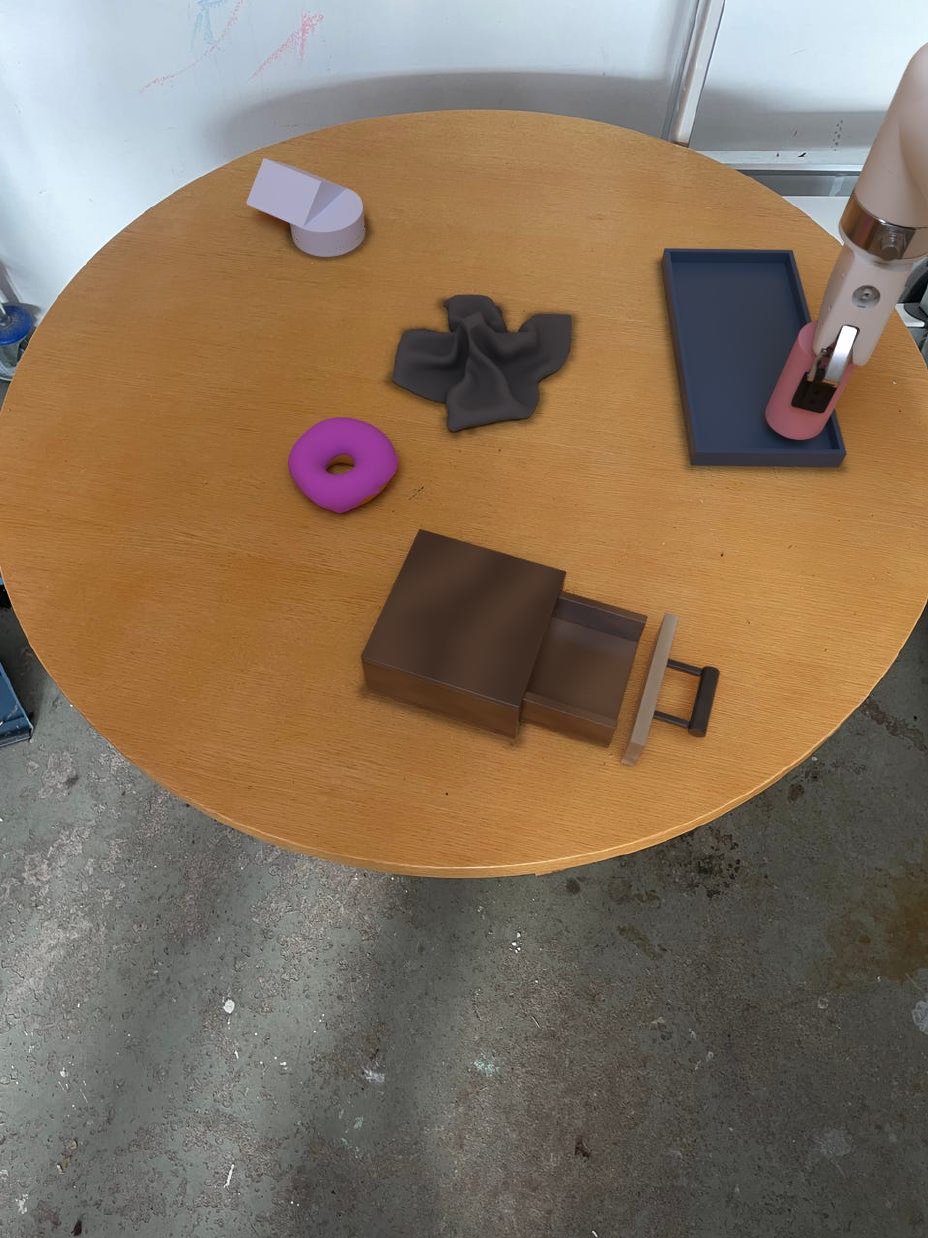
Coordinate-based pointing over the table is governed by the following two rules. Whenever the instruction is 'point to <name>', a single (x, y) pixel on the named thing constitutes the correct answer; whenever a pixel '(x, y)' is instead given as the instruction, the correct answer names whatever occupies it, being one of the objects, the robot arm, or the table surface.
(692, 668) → the drawer
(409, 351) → the cloth
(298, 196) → the wedge on round base
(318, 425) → the donut
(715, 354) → the tray
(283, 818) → the table surface
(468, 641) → the cabinet
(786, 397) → the cylinder
